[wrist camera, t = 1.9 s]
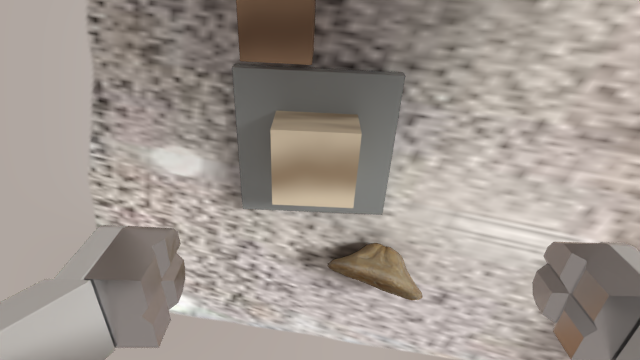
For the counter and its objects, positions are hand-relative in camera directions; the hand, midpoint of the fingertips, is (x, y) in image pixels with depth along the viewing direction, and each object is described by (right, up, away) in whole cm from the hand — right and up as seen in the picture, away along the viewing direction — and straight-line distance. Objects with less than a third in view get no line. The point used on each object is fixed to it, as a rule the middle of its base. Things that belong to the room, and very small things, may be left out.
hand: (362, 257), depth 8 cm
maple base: (-1, +5, +25) cm, 26 cm away
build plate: (-1, +5, +26) cm, 27 cm away
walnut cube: (-4, +15, +21) cm, 26 cm away
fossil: (+5, -7, +34) cm, 35 cm away
